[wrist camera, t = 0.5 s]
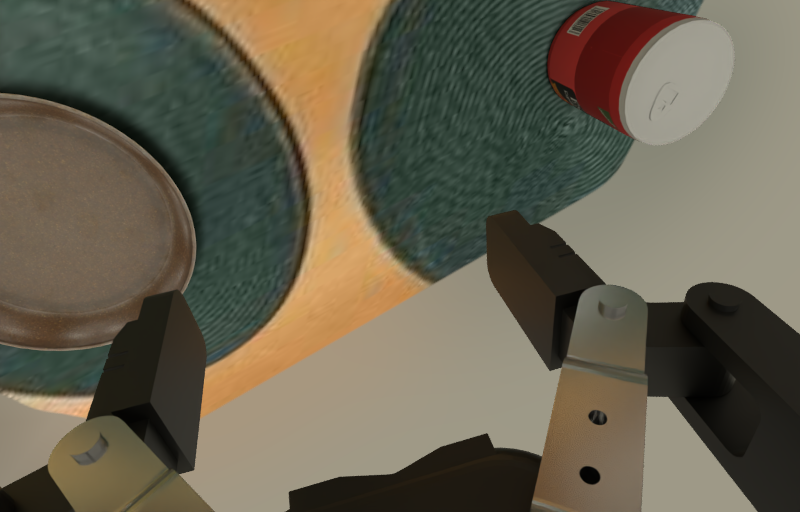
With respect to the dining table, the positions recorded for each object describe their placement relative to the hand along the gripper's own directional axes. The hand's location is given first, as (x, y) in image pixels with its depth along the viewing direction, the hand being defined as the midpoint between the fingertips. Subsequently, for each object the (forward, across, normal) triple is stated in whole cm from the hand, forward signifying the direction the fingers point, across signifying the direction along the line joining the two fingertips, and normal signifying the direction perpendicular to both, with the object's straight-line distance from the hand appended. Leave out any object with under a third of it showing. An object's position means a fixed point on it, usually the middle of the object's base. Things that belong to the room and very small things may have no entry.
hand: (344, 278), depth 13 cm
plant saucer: (+28, +20, +9) cm, 36 cm away
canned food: (+28, -24, +4) cm, 37 cm away
